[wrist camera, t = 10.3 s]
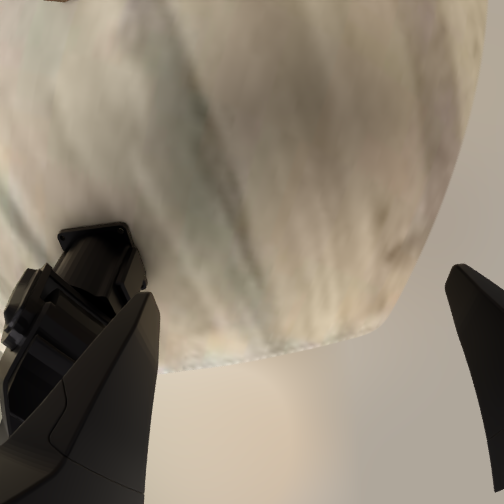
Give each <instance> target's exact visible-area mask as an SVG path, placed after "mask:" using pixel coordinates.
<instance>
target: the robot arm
mask: <svg viewBox="0 0 504 504" xmlns="http://www.w3.org/2000/svg"><path fill="white" fill-rule="evenodd" d="M119 228H121V229H123V231H121V230H120V229H119ZM63 236H64V237H65V238H64V237H63ZM57 237H58V240H59V242H60V245H61V247H62V249H63V251H64V252H63V254H62V255H61V257H60V259H59V260H58V262H57V264H56V265H55V267H54V269H53V270H52V267H51V266H50V265H49V264H48V263H46V264H45V265H44V266H43V267H42V268H41V269H38V270H37V269H36V270H34V269H29V268H28V269H27V270H26V271H25V272H24V274H23V275H22V277H21V279H20V280H19V282H18V283H17V285H16V287H15V289H14V290H13V292H12V294H11V296H10V299H9V301H8V303H7V306H6V308H5V310H4V318H5V325H4V331H3V335H2V339H1V343H3V344H4V345H5V346H6V349H5V351H4V354H3V356H2V358H1V360H0V404H1V412H2V420H1V423H0V504H144V491H145V476H146V464H147V453H148V443H149V433H150V424H151V415H152V407H153V400H154V392H155V384H156V378H157V371H158V358H159V333H160V312H159V309H158V307H157V304H156V302H155V299H154V297H153V295H152V293H151V292H140V290H144V289H146V287H147V280H146V277H145V273H146V272H145V269H144V266H143V263H142V261H141V258H140V255H139V252H138V249H137V248H136V247H134V244H133V241H132V238H131V235H130V232H129V229H128V226H127V225H126V224H125V223H121V222H120V223H112V224H104V225H96V226H89V227H81V228H74V229H67V230H61V231H60V232H59V234H58V236H57ZM445 292H446V295H447V299H448V302H449V305H450V309H451V312H452V316H453V320H454V323H455V327H456V330H457V334H458V337H459V340H460V342H461V345H462V348H463V351H464V354H465V357H466V360H467V363H468V367H469V370H470V373H471V377H472V380H473V384H474V387H475V390H476V395H477V398H478V402H479V406H480V410H481V415H482V419H483V423H484V428H485V433H486V438H487V444H488V450H489V455H490V462H491V468H492V476H493V485H494V491H495V492H498V491H500V490H503V489H504V290H503V289H501V288H500V287H499V286H497V285H496V284H494V283H493V282H492V281H490V280H489V279H487V278H486V277H484V276H483V275H481V274H480V273H478V272H477V271H475V270H474V269H472V268H471V267H469V266H468V265H466V264H456V265H454V266H453V267H452V269H451V271H450V274H449V276H448V278H447V281H446V283H445Z"/></svg>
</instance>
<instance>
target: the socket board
mask: <svg viewBox="0 0 504 504" xmlns="http://www.w3.org/2000/svg"><path fill="white" fill-rule="evenodd" d="M45 1H57V2H66V1H68V0H45Z"/></svg>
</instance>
